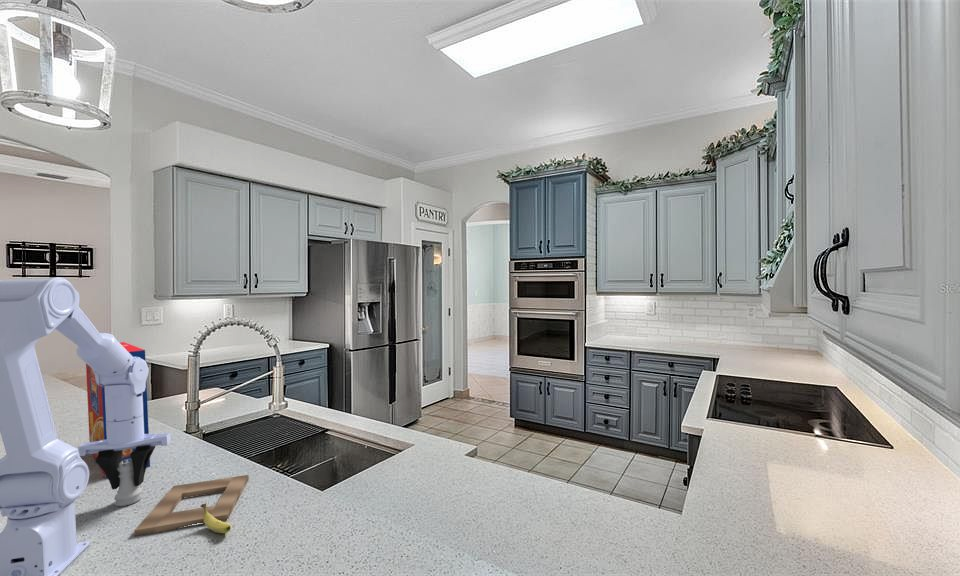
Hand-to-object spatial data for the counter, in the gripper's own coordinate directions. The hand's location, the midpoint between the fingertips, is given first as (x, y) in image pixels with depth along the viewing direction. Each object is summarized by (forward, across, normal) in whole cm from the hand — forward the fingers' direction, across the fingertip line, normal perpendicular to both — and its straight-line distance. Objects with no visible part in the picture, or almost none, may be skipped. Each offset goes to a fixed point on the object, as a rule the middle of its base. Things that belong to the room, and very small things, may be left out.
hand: (128, 485), depth 85 cm
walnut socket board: (+3, -14, +6) cm, 16 cm away
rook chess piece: (+3, 0, 0) cm, 3 cm away
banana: (+4, -20, +18) cm, 27 cm away
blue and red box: (+3, +14, -29) cm, 32 cm away
